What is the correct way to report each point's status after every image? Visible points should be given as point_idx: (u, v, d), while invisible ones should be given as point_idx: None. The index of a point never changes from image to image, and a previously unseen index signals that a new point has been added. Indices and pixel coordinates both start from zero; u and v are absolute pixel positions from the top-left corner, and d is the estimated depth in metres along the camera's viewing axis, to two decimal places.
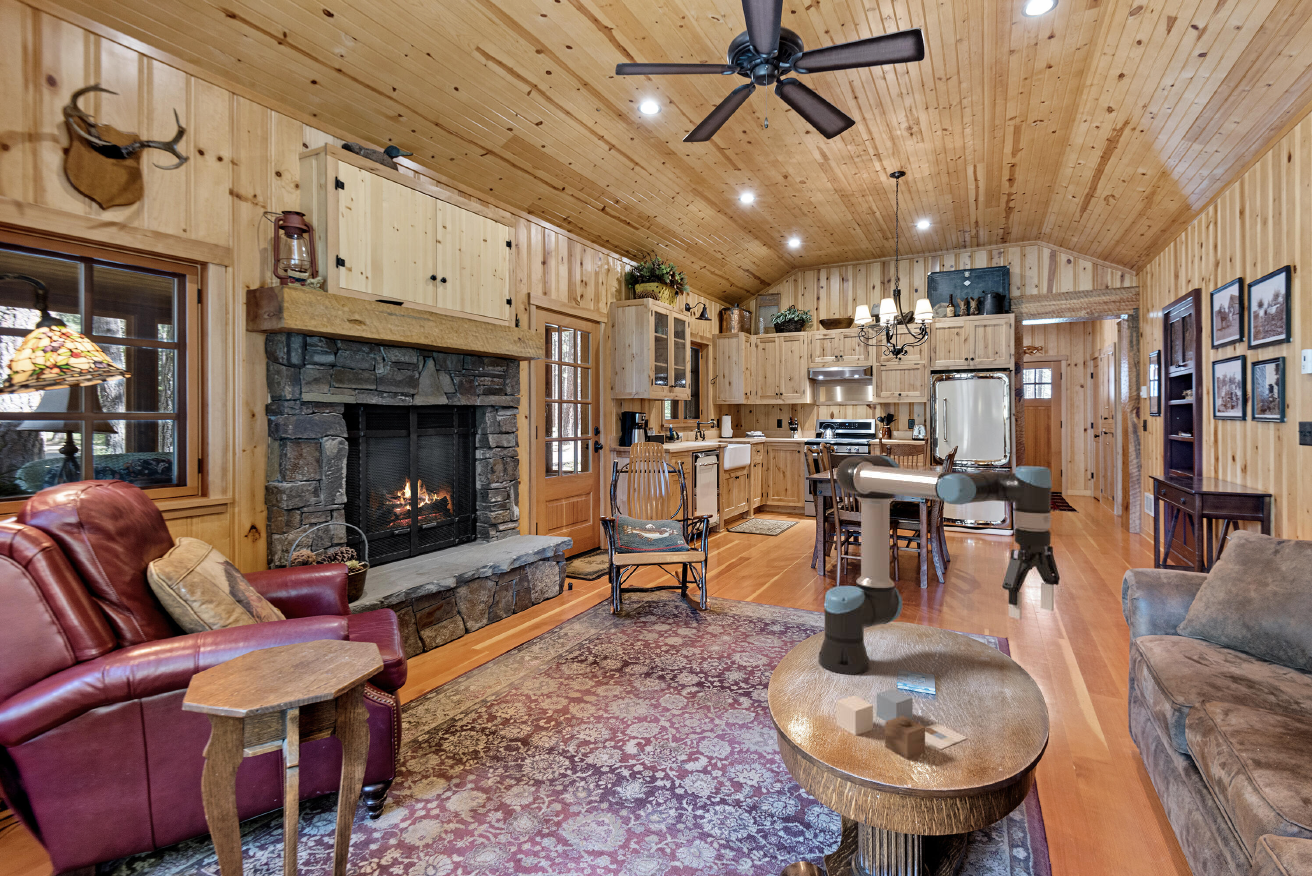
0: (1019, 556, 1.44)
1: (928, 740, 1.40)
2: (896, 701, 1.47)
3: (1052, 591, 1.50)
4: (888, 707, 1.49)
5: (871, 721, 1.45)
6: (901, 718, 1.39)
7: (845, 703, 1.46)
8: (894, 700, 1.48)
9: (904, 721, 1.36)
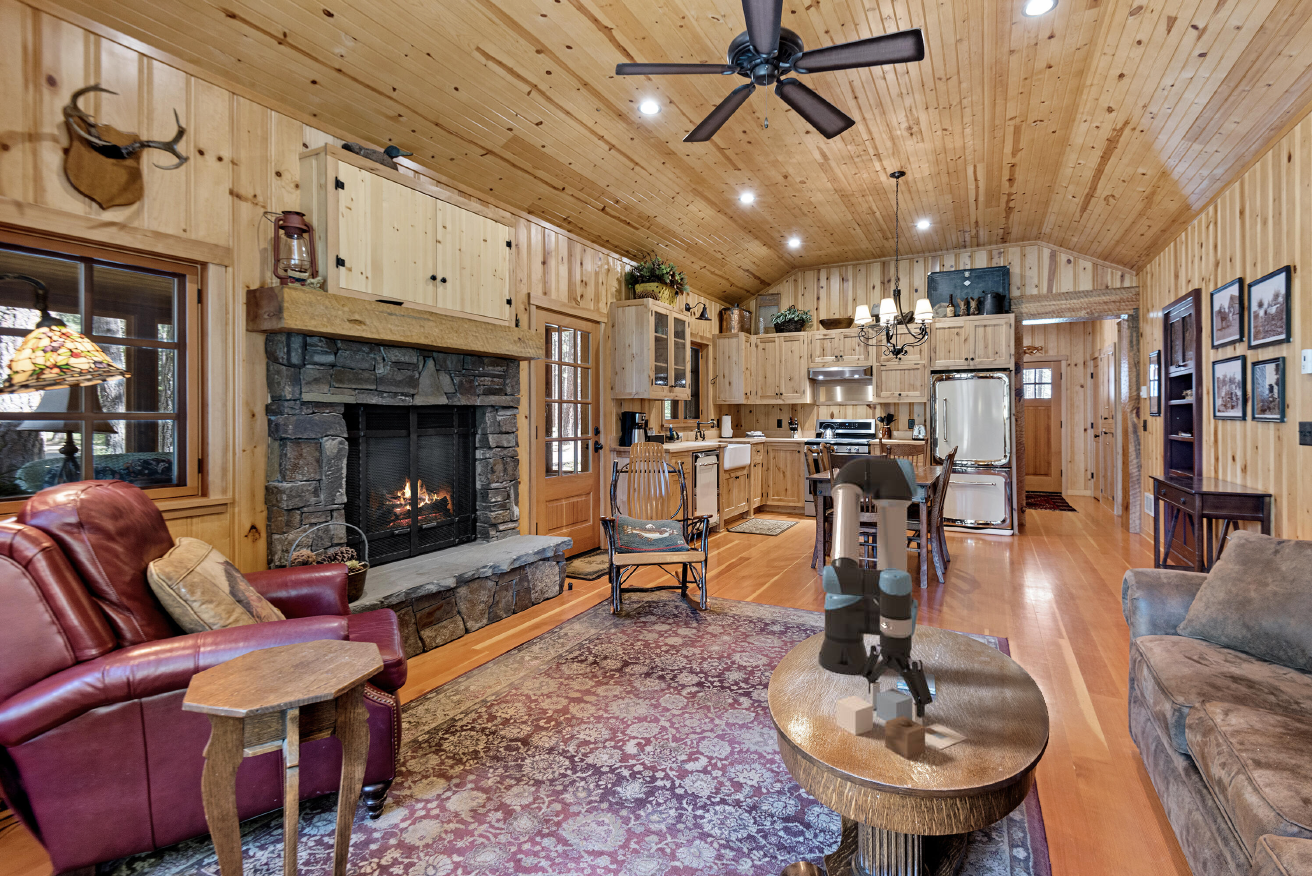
0: None
1: (928, 740, 1.40)
2: (896, 701, 1.47)
3: (913, 709, 1.44)
4: (888, 707, 1.49)
5: (871, 721, 1.45)
6: (901, 718, 1.39)
7: (845, 703, 1.46)
8: (894, 700, 1.48)
9: (904, 721, 1.36)
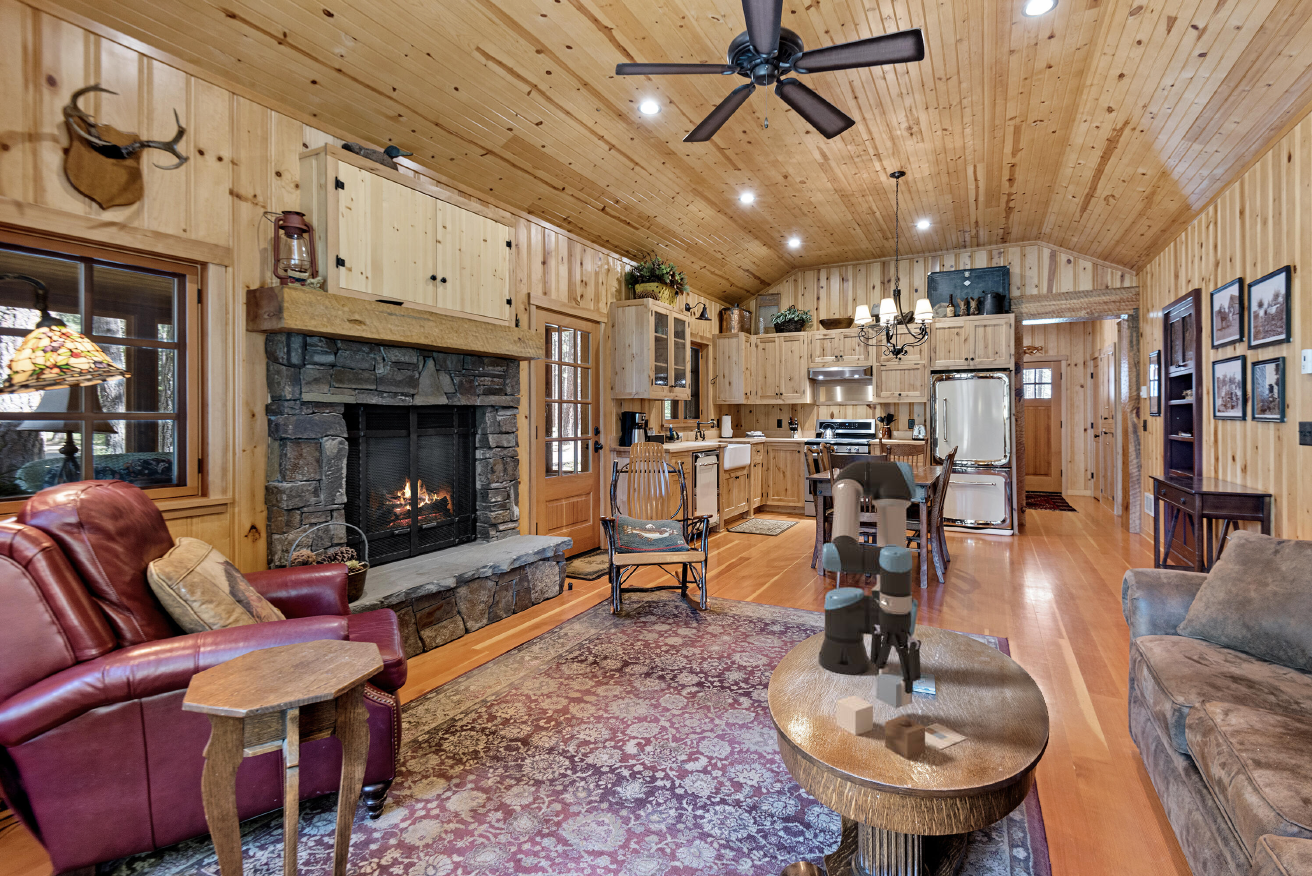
0: None
1: (928, 740, 1.40)
2: (896, 683, 1.48)
3: (901, 686, 1.48)
4: (888, 688, 1.49)
5: (871, 721, 1.45)
6: (901, 718, 1.39)
7: (845, 703, 1.46)
8: (894, 682, 1.48)
9: (904, 721, 1.36)
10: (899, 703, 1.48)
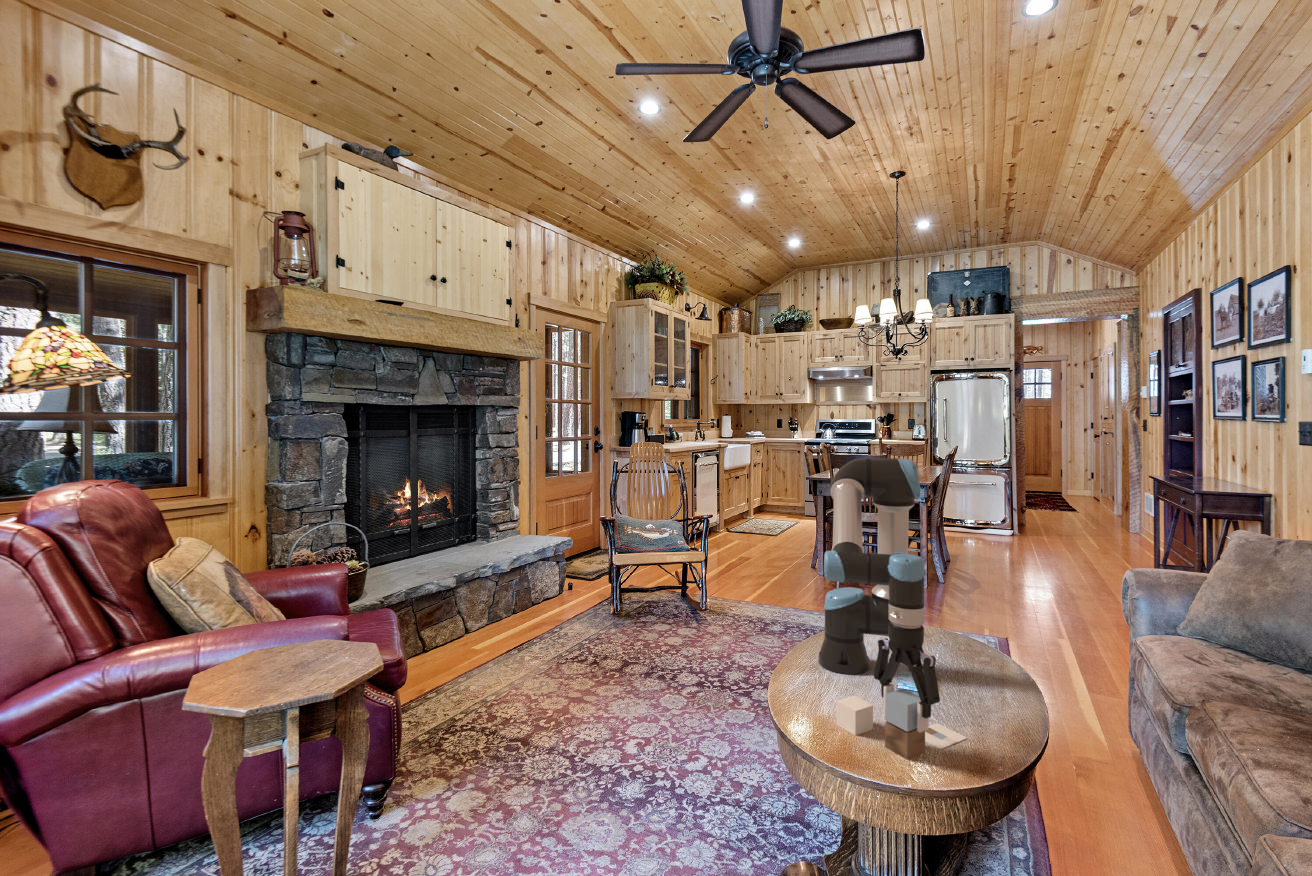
0: None
1: (928, 740, 1.40)
2: (907, 703, 1.32)
3: (918, 709, 1.31)
4: (898, 709, 1.34)
5: (871, 721, 1.45)
6: None
7: (845, 703, 1.46)
8: (905, 702, 1.33)
9: None
10: (911, 726, 1.32)
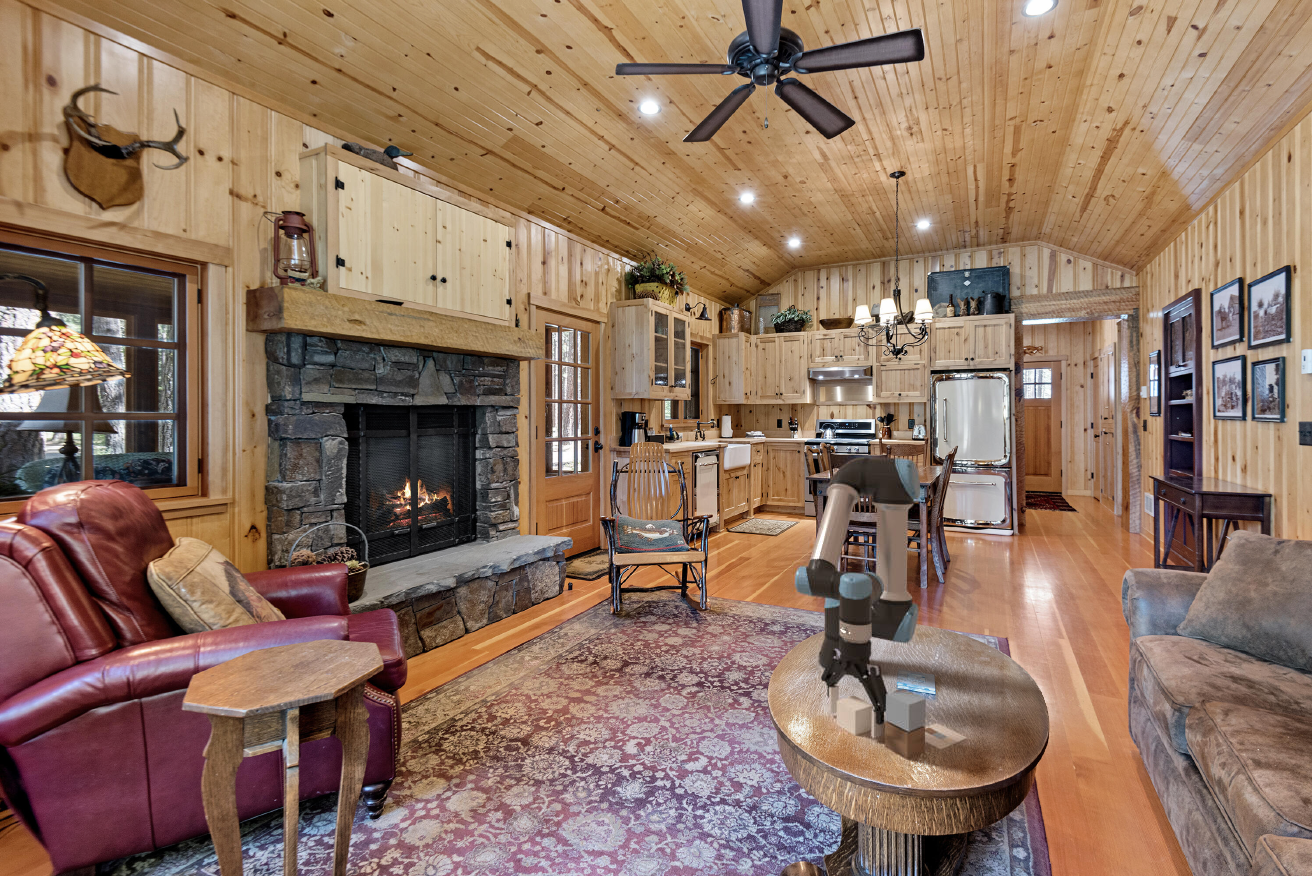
0: None
1: (928, 740, 1.40)
2: (908, 703, 1.32)
3: (872, 716, 1.40)
4: (899, 709, 1.34)
5: (871, 721, 1.45)
6: None
7: (845, 703, 1.46)
8: (906, 702, 1.33)
9: None
10: (912, 726, 1.32)
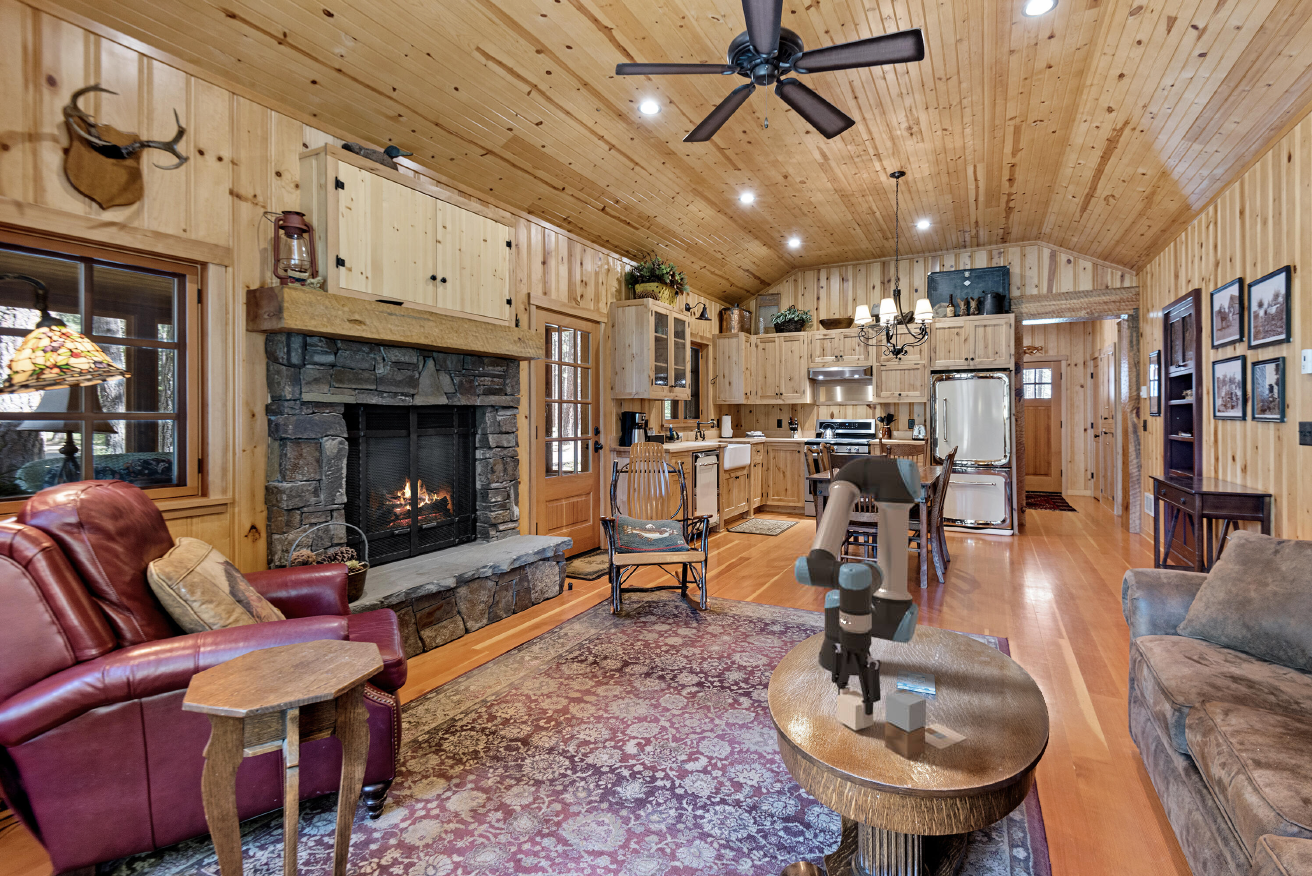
0: None
1: (928, 740, 1.40)
2: (908, 703, 1.32)
3: (861, 707, 1.43)
4: (900, 710, 1.34)
5: (871, 716, 1.45)
6: None
7: (845, 698, 1.47)
8: (906, 702, 1.33)
9: None
10: (912, 726, 1.32)
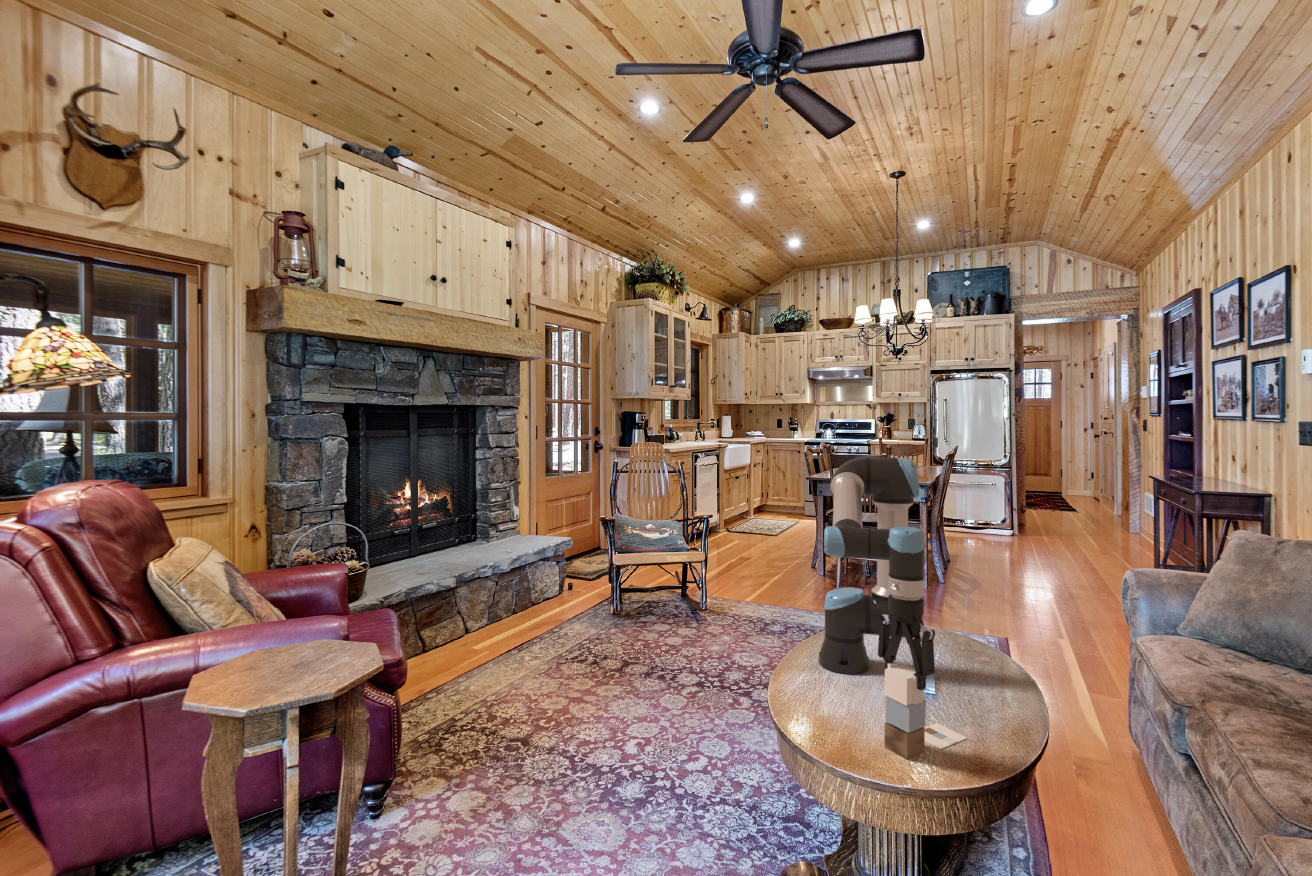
0: None
1: (928, 740, 1.40)
2: None
3: (913, 681, 1.32)
4: (899, 711, 1.34)
5: (923, 691, 1.34)
6: None
7: (894, 671, 1.35)
8: None
9: None
10: (912, 727, 1.32)
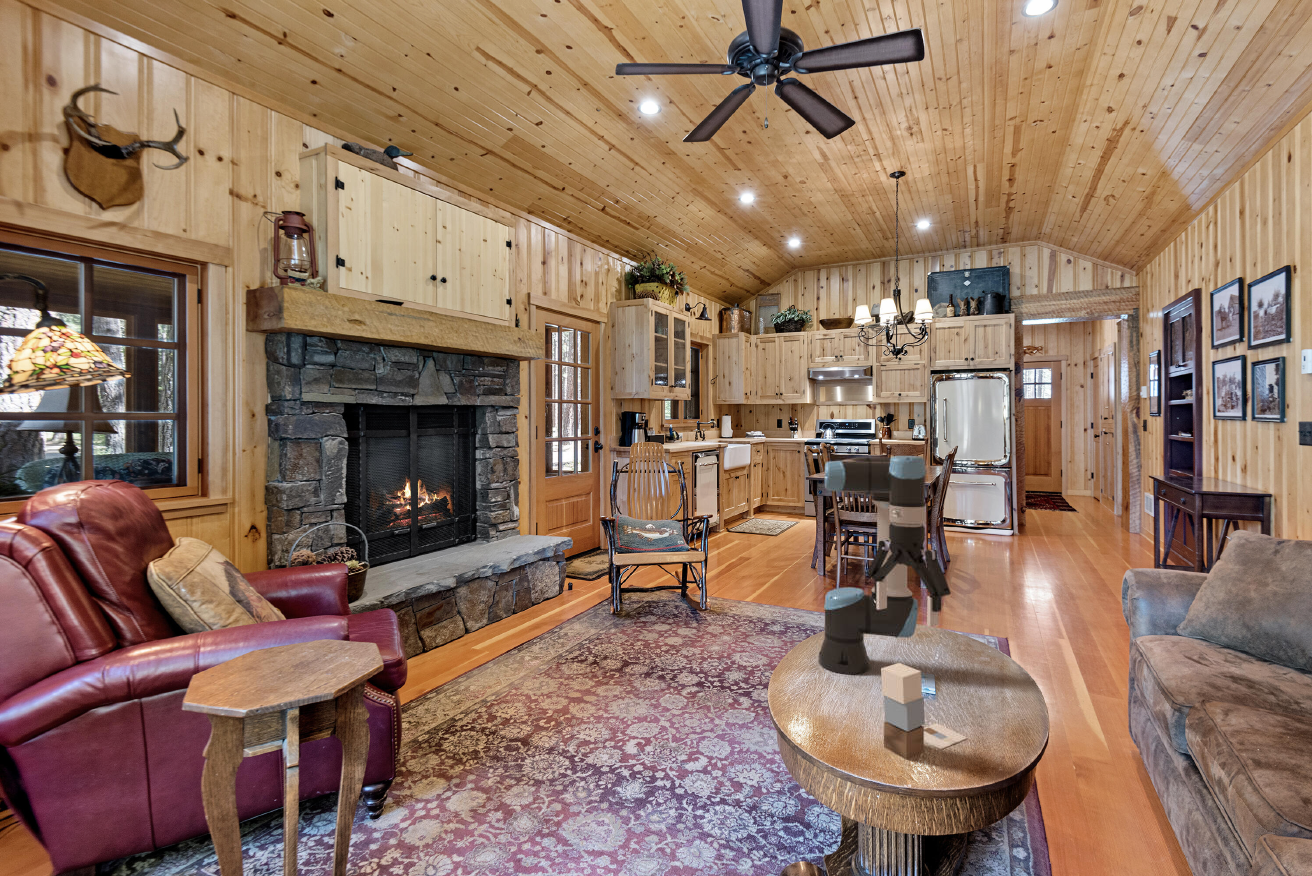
0: None
1: (928, 740, 1.40)
2: None
3: (928, 603, 1.29)
4: (897, 709, 1.34)
5: (920, 689, 1.34)
6: None
7: (890, 670, 1.36)
8: None
9: None
10: (911, 725, 1.32)
